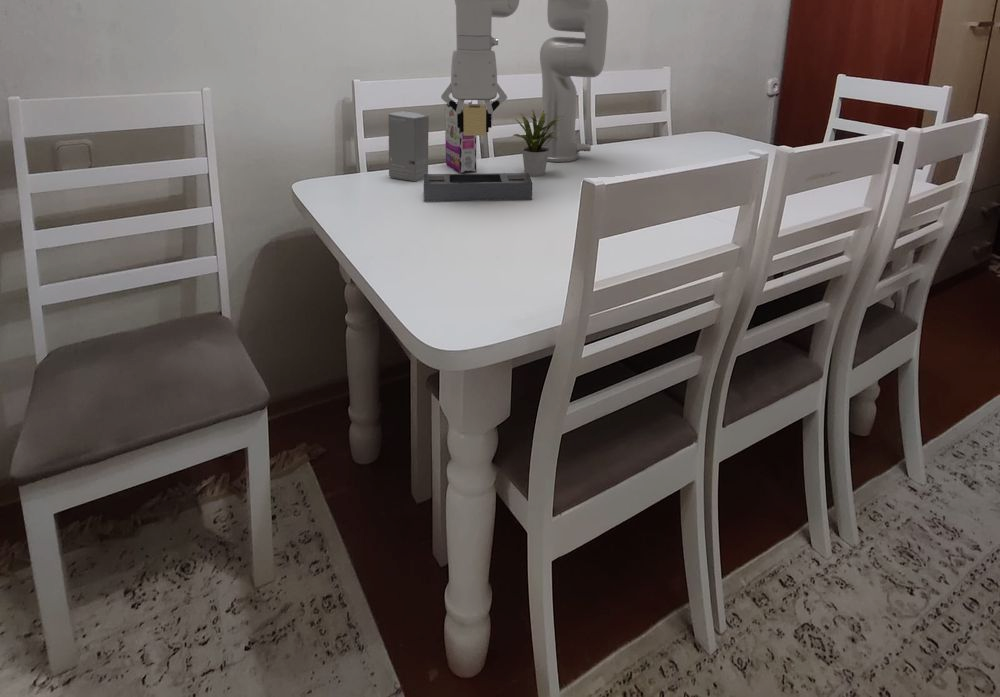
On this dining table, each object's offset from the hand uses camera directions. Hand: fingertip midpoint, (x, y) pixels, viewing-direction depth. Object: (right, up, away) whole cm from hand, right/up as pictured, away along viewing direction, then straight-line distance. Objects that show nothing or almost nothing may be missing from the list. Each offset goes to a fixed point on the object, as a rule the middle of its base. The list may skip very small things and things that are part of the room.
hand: (474, 130), depth 161 cm
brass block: (0, -1, 0) cm, 1 cm away
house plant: (+16, -4, +25) cm, 30 cm away
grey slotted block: (+1, -13, +7) cm, 15 cm away
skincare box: (-17, -6, +21) cm, 28 cm away
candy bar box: (-5, -1, +30) cm, 31 cm away
